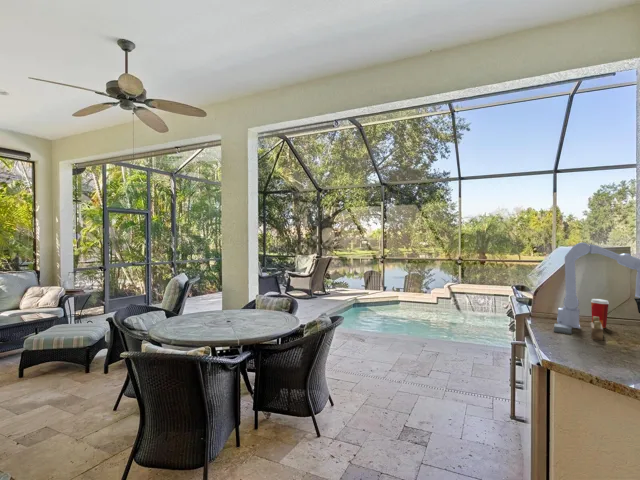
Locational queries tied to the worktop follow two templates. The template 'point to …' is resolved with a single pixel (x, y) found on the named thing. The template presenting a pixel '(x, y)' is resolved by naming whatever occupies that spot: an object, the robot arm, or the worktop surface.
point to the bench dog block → (596, 329)
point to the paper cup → (600, 310)
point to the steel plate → (563, 328)
